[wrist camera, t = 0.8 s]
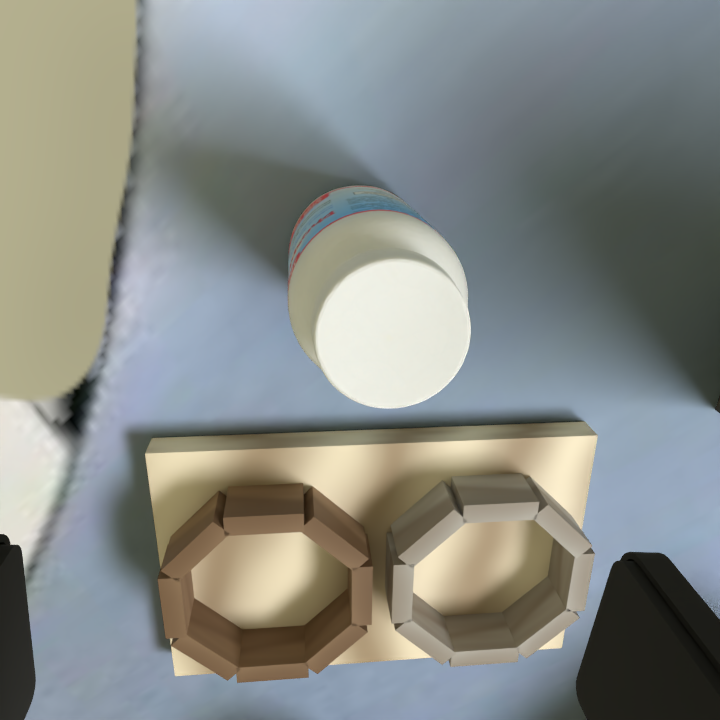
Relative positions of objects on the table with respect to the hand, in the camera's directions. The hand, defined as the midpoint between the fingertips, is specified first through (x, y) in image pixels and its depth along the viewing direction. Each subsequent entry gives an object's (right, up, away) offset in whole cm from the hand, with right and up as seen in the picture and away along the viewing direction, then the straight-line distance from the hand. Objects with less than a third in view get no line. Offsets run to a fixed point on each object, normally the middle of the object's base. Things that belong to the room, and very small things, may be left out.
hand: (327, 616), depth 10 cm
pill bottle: (0, +9, +18) cm, 20 cm away
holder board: (+1, -6, +24) cm, 25 cm away
